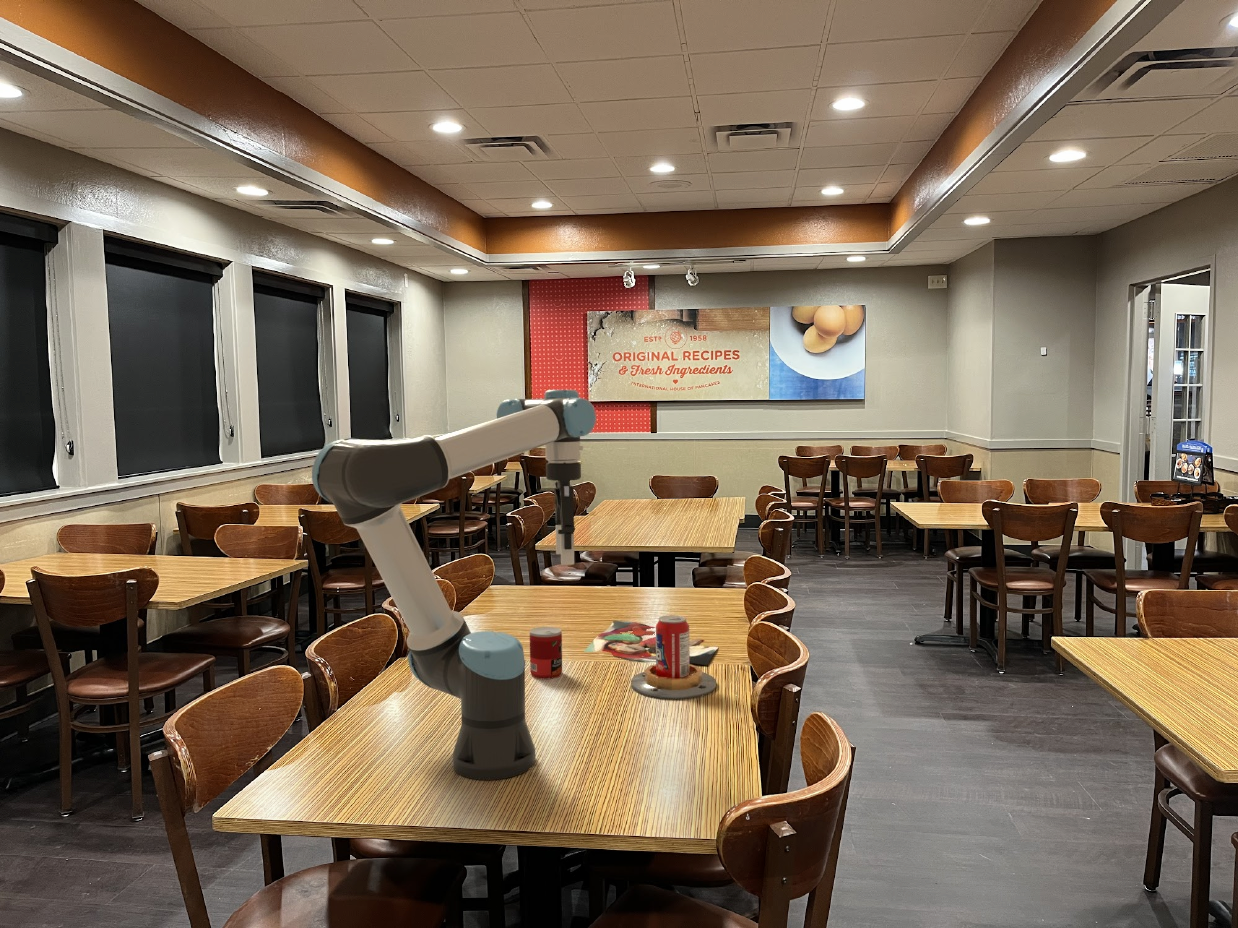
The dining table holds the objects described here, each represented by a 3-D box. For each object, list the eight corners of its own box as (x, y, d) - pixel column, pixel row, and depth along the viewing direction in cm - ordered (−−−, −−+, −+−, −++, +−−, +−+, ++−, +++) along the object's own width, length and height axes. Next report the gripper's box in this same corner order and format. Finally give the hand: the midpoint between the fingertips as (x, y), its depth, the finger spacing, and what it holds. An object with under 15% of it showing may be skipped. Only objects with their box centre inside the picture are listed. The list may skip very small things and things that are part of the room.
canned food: (557, 679, 208) (557, 635, 207) (526, 678, 209) (525, 633, 208) (566, 670, 215) (565, 627, 214) (535, 668, 217) (534, 625, 216)
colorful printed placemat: (577, 659, 226) (577, 652, 226) (614, 627, 260) (614, 621, 260) (707, 668, 217) (707, 661, 217) (728, 633, 250) (728, 627, 250)
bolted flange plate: (726, 696, 194) (726, 681, 194) (638, 701, 191) (638, 686, 191) (704, 670, 214) (704, 656, 214) (624, 674, 211) (624, 660, 211)
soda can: (687, 687, 198) (687, 622, 197) (653, 685, 199) (653, 621, 198) (691, 676, 206) (691, 614, 205) (659, 675, 207) (658, 613, 206)
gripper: (587, 464, 174) (588, 568, 175) (574, 458, 198) (576, 549, 200) (549, 465, 173) (551, 569, 174) (542, 458, 197) (544, 550, 199)
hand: (564, 559), depth 187 cm, fingers open, 13 cm apart
